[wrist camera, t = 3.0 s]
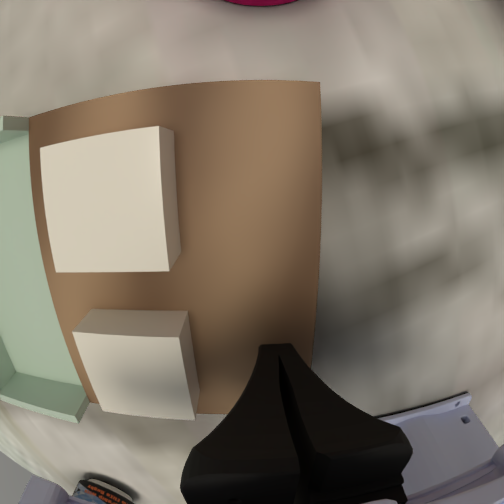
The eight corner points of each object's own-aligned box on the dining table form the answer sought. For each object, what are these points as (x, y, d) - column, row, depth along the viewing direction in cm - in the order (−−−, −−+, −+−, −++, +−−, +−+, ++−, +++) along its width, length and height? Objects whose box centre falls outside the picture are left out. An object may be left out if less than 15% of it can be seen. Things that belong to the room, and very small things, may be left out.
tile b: (173, 131, 10) (159, 125, 8) (181, 252, 11) (169, 271, 9) (68, 147, 10) (39, 147, 8) (80, 255, 11) (55, 272, 9)
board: (312, 88, 11) (320, 82, 10) (302, 394, 15) (305, 410, 14) (43, 119, 10) (28, 117, 9) (96, 389, 15) (89, 402, 14)
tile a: (187, 310, 12) (178, 337, 10) (200, 390, 13) (195, 420, 12) (91, 308, 12) (72, 331, 10) (115, 384, 13) (102, 410, 11)
